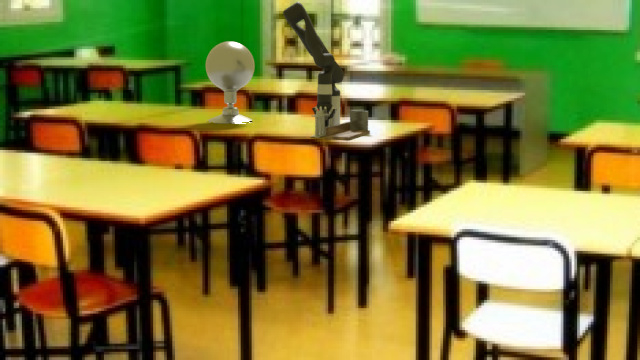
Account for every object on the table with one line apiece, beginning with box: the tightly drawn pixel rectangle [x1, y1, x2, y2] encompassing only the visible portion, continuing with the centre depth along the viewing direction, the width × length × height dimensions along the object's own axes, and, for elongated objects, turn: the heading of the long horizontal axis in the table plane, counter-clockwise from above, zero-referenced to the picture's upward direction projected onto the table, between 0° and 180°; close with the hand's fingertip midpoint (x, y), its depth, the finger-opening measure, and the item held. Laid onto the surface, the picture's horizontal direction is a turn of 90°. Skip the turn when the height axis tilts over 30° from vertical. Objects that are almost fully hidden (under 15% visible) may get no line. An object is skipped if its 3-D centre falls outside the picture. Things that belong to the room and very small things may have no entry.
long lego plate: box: [310, 109, 336, 139], centre depth 516 cm, size 25×4×13 cm, turn 158°
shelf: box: [325, 109, 371, 141], centre depth 512 cm, size 12×31×12 cm, turn 157°
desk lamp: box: [205, 41, 256, 124], centre depth 574 cm, size 28×28×45 cm
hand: (324, 126), depth 516 cm, fingers closed on long lego plate
